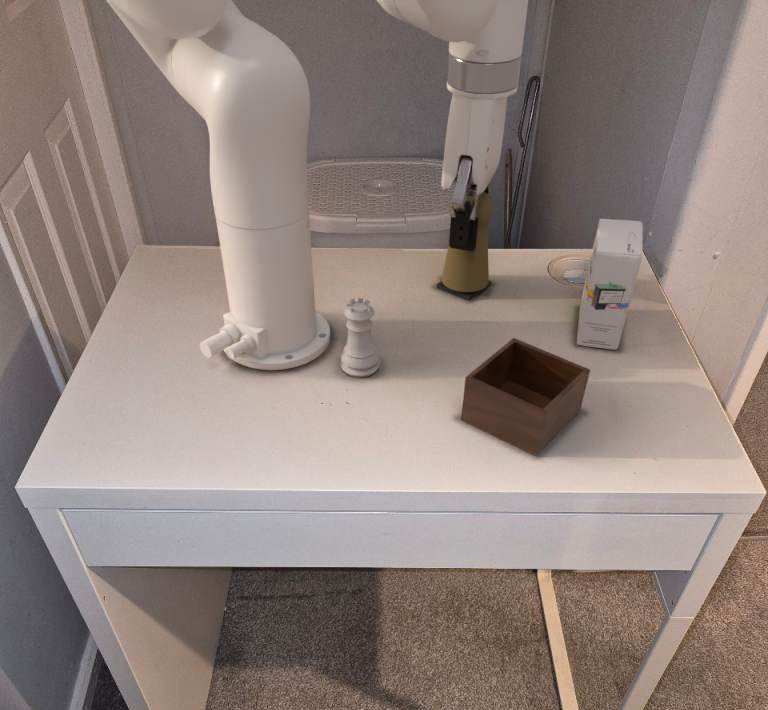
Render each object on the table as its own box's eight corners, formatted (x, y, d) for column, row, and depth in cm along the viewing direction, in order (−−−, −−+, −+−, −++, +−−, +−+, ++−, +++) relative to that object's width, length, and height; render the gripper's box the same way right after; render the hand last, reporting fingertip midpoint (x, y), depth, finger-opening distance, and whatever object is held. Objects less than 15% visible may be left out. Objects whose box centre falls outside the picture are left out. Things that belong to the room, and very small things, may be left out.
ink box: (578, 307, 94) (598, 214, 86) (619, 312, 93) (643, 219, 85) (574, 345, 88) (596, 250, 80) (618, 351, 88) (644, 255, 79)
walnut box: (536, 456, 75) (544, 413, 71) (460, 419, 79) (465, 377, 75) (580, 412, 80) (590, 369, 76) (507, 379, 84) (513, 337, 80)
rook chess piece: (385, 360, 86) (385, 296, 80) (372, 382, 83) (372, 318, 77) (347, 352, 87) (345, 289, 81) (334, 374, 84) (331, 310, 78)
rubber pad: (468, 300, 95) (469, 297, 95) (436, 287, 97) (436, 284, 97) (490, 284, 98) (491, 281, 97) (458, 272, 100) (459, 269, 99)
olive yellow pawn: (490, 292, 95) (501, 205, 87) (442, 291, 95) (448, 205, 87) (487, 268, 99) (496, 183, 91) (440, 267, 99) (446, 182, 91)
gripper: (468, 46, 86) (456, 203, 99) (426, 94, 75) (418, 265, 88) (534, 52, 84) (513, 212, 98) (500, 103, 73) (482, 276, 86)
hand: (468, 236), depth 93 cm, fingers closed on olive yellow pawn, 5 cm apart
